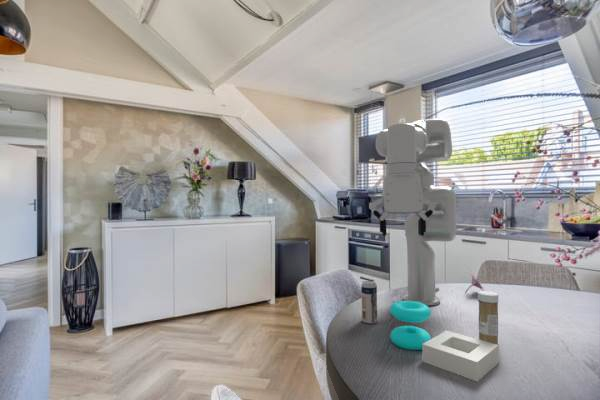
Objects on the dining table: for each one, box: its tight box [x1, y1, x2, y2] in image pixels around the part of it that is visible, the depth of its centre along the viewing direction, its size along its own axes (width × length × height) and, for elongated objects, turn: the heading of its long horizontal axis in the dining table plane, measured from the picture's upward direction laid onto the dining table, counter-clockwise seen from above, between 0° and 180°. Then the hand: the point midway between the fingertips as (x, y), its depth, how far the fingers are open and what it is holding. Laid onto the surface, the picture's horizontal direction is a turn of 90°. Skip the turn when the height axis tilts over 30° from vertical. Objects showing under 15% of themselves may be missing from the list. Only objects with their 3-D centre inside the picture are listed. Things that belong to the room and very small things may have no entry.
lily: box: [464, 267, 487, 294], centre depth 134 cm, size 12×12×10 cm
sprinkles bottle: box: [477, 290, 499, 345], centre depth 87 cm, size 5×5×14 cm
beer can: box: [360, 280, 378, 325], centre depth 104 cm, size 5×5×12 cm
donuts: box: [389, 300, 432, 351], centre depth 89 cm, size 10×10×10 cm
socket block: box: [421, 330, 500, 382], centre depth 78 cm, size 12×12×4 cm
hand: (402, 235), depth 91 cm, fingers open, 9 cm apart
